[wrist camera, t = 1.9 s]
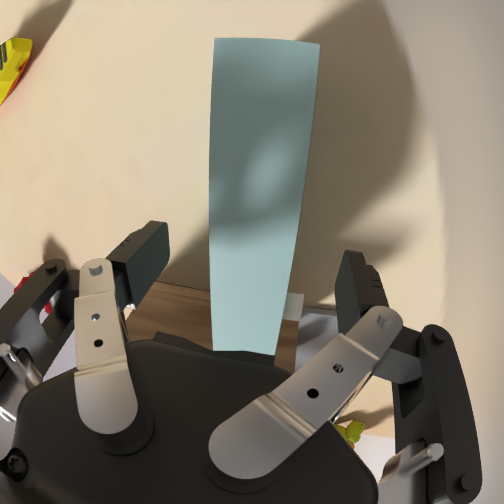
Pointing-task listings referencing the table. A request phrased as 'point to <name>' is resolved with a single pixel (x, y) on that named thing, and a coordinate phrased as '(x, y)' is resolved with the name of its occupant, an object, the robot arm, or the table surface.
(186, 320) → the cabinet
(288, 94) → the door
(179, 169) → the table surface
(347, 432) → the bird rattle
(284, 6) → the table surface
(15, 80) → the toy boat
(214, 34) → the table surface
